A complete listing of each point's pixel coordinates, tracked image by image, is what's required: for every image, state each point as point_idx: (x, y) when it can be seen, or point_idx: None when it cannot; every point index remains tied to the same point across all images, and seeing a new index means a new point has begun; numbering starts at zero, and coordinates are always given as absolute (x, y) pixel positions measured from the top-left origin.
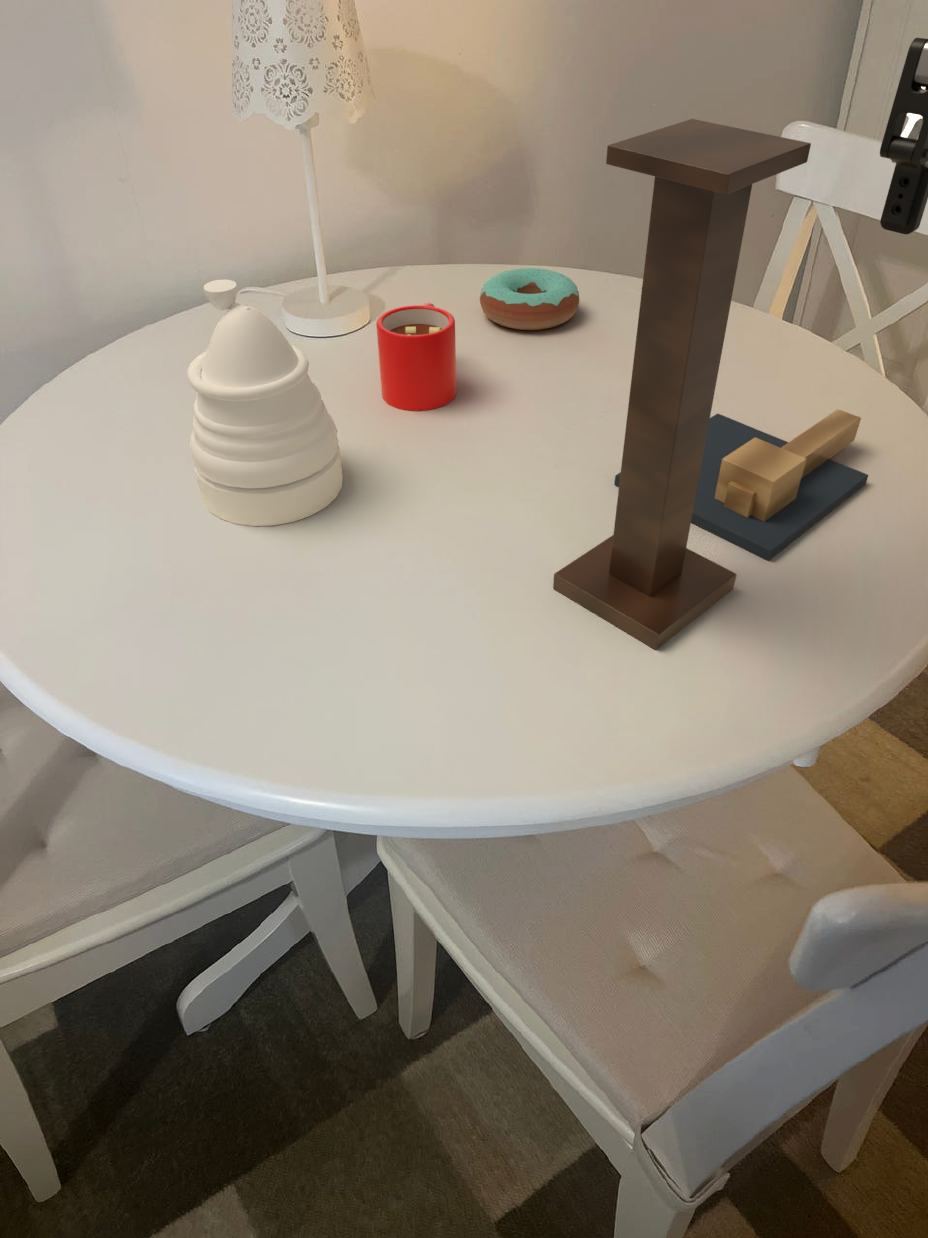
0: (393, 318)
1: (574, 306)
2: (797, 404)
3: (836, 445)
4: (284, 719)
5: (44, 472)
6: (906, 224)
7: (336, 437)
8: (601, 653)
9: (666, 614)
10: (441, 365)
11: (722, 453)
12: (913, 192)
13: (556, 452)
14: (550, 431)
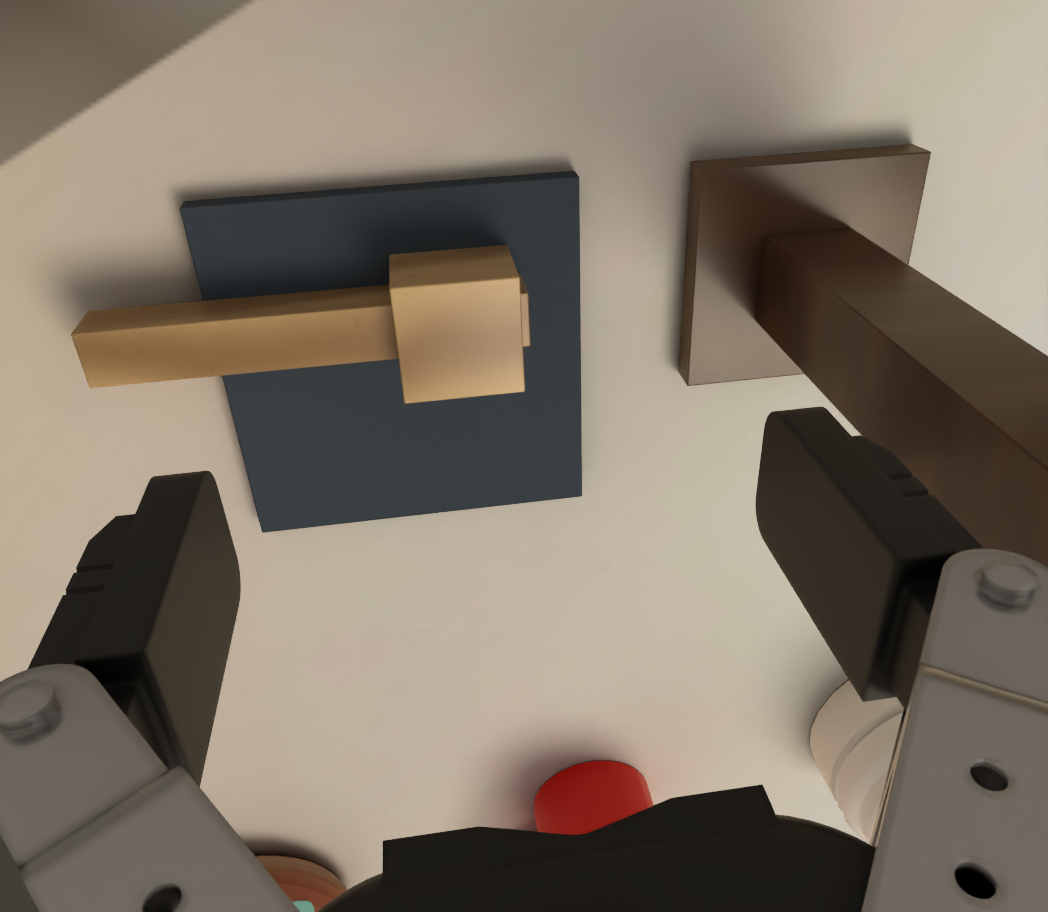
0: None
1: None
2: (54, 477)
3: (179, 311)
4: None
5: None
6: (854, 438)
7: (884, 741)
8: (963, 197)
9: (876, 178)
10: (609, 820)
11: (373, 438)
12: (949, 516)
13: (569, 595)
14: (527, 641)
